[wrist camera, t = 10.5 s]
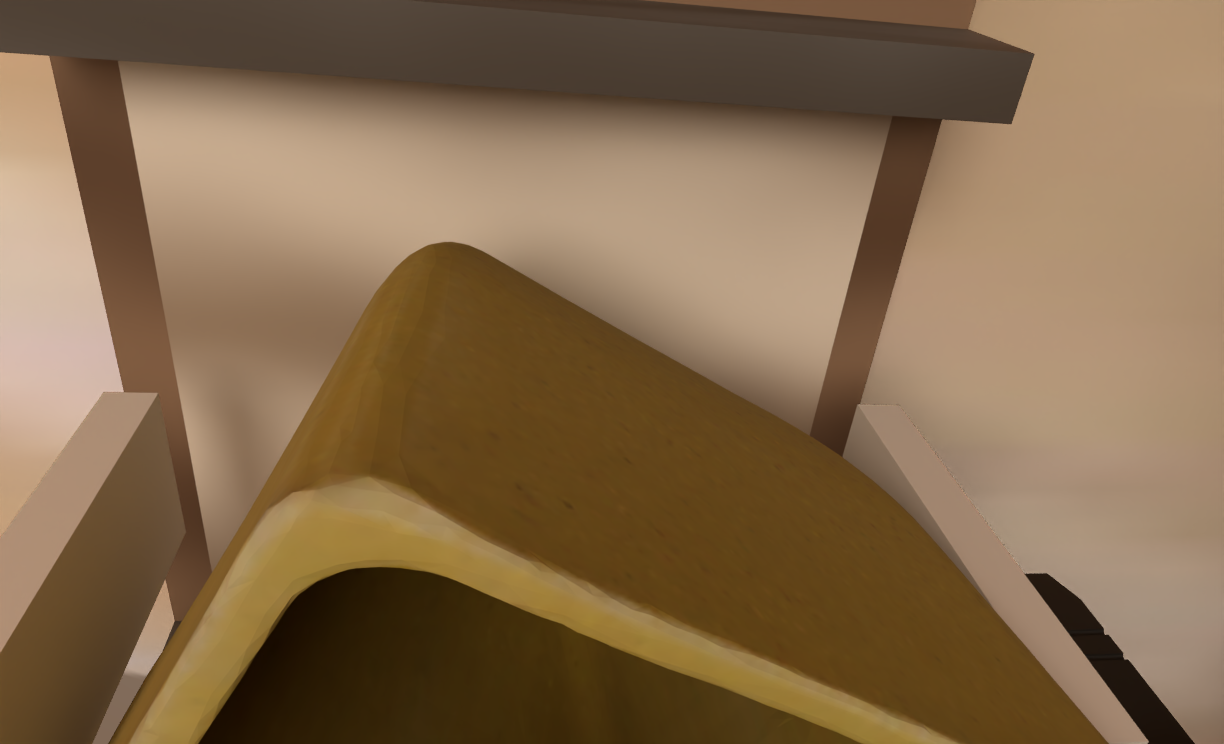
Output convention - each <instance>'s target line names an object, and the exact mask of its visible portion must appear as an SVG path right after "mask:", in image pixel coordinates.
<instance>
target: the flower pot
mask: <svg viewBox="0 0 1224 744" xmlns="http://www.w3.org/2000/svg"><path fill="white" fill-rule="evenodd" d="M108 744H1109V743H1108V742H1107V741H1106V740H1105V739H1104V737H1103V736H1102V735H1101V734H1100V733H1099V732H1098V730H1097V729H1096V728H1095V727H1094V726H1093V725H1092V723H1091V722H1090V721H1089V720H1088V719H1087V718H1086V716H1085V715H1084V714H1083V713H1082V712H1081V711H1080V709H1079V708H1078V707H1077V706H1076V705H1075V704H1074V702H1073V701H1072V700H1071V699H1070V698H1069V697H1068V695H1067V694H1066V693H1065V692H1064V691H1063V690H1062V688H1061V687H1060V686H1059V685H1058V684H1057V683H1056V681H1055V680H1054V679H1053V678H1052V677H1051V675H1050V674H1049V673H1048V672H1047V671H1046V670H1045V668H1044V667H1043V666H1042V665H1041V664H1040V662H1039V661H1038V660H1037V659H1036V658H1035V656H1034V655H1033V654H1032V653H1031V652H1030V650H1029V649H1028V648H1027V647H1026V646H1025V645H1024V643H1023V642H1022V641H1021V640H1020V639H1019V638H1018V637H1017V635H1016V634H1015V633H1014V632H1013V631H1012V630H1011V629H1010V627H1009V626H1008V625H1007V624H1006V623H1005V622H1004V620H1003V619H1002V618H1001V617H1000V616H999V615H998V614H997V612H996V611H995V610H994V609H993V608H992V607H991V606H990V604H989V603H988V602H987V601H986V600H985V599H984V597H983V596H982V595H981V594H980V593H979V592H978V591H977V589H976V588H975V587H974V586H973V585H972V584H971V582H970V581H969V580H968V579H967V578H966V577H965V575H964V574H963V573H962V572H961V571H960V570H959V569H958V567H957V566H956V565H955V564H954V563H953V562H952V560H951V559H950V558H949V557H948V556H947V555H946V554H945V552H944V551H943V550H942V549H941V548H940V547H939V545H938V544H937V543H936V542H935V541H934V540H933V539H932V538H931V537H930V535H929V534H928V533H927V532H926V531H925V530H924V529H923V528H922V527H921V525H920V524H919V523H918V522H917V521H916V520H915V519H914V518H913V517H912V516H911V515H910V514H909V513H908V512H907V511H906V510H905V509H904V508H903V507H902V506H901V505H900V504H899V503H898V502H897V501H896V500H895V499H894V498H893V497H891V496H890V495H889V494H888V493H887V492H886V491H884V490H883V489H882V488H881V487H880V486H879V485H877V484H876V483H875V482H874V481H873V480H872V479H870V478H869V477H868V476H866V475H865V474H864V473H863V472H861V471H860V470H859V469H857V468H856V467H855V466H853V465H852V464H851V463H849V462H848V461H847V460H845V459H844V458H843V457H841V456H840V455H839V454H837V453H836V452H834V451H833V450H831V449H830V448H828V447H826V446H825V445H823V444H822V443H820V442H819V441H817V440H816V439H814V438H813V437H811V436H809V435H808V434H806V433H804V432H803V431H801V430H799V429H798V428H796V427H794V426H793V425H791V424H789V423H787V422H786V421H784V420H782V419H780V418H779V417H777V416H775V415H774V414H772V413H770V412H768V411H766V410H764V409H762V408H760V407H759V406H757V405H755V404H753V403H751V402H749V401H747V400H746V399H744V398H742V397H740V396H738V395H736V394H734V393H733V392H731V391H729V390H727V389H725V388H724V387H722V386H720V385H718V384H717V383H715V382H713V381H711V380H709V379H708V378H706V377H704V376H702V375H700V374H699V373H697V372H695V371H693V370H692V369H690V368H688V367H686V366H684V365H683V364H681V363H679V362H677V361H675V360H674V359H672V358H670V357H668V356H666V355H665V354H663V353H661V352H659V351H657V350H656V349H654V348H652V347H650V346H648V345H646V344H645V343H643V342H641V341H639V340H637V339H636V338H634V337H632V336H630V335H629V334H627V333H625V332H623V331H622V330H620V329H618V328H616V327H615V326H613V325H611V324H609V323H607V322H606V321H604V320H602V319H600V318H599V317H597V316H595V315H593V314H592V313H590V312H588V311H586V310H584V309H583V308H581V307H579V306H577V305H576V304H574V303H572V302H570V301H569V300H567V299H565V298H563V297H562V296H560V295H558V294H556V293H555V292H553V291H551V290H549V289H548V288H546V287H544V286H543V285H541V284H539V283H537V282H536V281H534V280H532V279H530V278H529V277H527V276H525V275H524V274H522V273H520V272H518V271H517V270H515V269H513V268H511V267H510V266H508V265H506V264H505V263H503V262H501V261H499V260H498V259H496V258H494V257H492V256H491V255H489V254H487V253H485V252H483V251H481V250H479V249H477V248H474V247H472V246H470V245H467V244H462V243H457V242H441V243H435V244H430V245H427V246H425V247H423V248H421V249H419V250H418V251H416V252H414V253H412V254H411V255H409V256H408V257H407V258H406V259H405V260H403V261H402V262H401V263H400V264H399V265H398V266H397V267H396V268H395V269H394V270H393V271H392V273H391V274H390V275H389V276H388V277H387V279H386V280H385V281H384V282H383V284H382V285H381V286H380V287H379V288H378V290H377V291H376V293H375V294H374V296H373V297H372V299H371V301H370V302H369V304H368V305H367V307H366V309H365V310H364V312H363V314H362V315H361V317H360V319H359V321H358V323H357V324H356V326H355V328H354V330H353V331H352V333H351V335H350V337H349V339H348V340H347V342H346V344H345V346H344V347H343V349H342V351H341V353H340V355H339V356H338V358H337V360H336V362H335V363H334V365H333V367H332V369H331V370H330V372H329V374H328V376H327V377H326V379H325V381H324V383H323V384H322V386H321V388H320V390H319V391H318V393H317V395H316V397H315V398H314V400H313V402H312V404H311V405H310V407H309V409H308V411H307V412H306V414H305V416H304V418H303V419H302V421H301V423H300V425H299V426H298V428H297V430H296V431H295V433H294V435H293V437H292V438H291V440H290V442H289V444H288V445H287V447H286V449H285V450H284V452H283V454H282V456H281V457H280V459H279V461H278V462H277V464H276V466H275V468H274V469H273V471H272V473H271V475H270V476H269V478H268V480H267V481H266V483H265V485H264V487H263V488H262V490H261V492H260V493H259V495H258V497H257V499H256V500H255V502H254V504H253V505H252V507H251V509H250V511H249V512H248V514H247V516H246V518H245V519H244V521H243V522H242V524H241V526H240V527H239V529H238V531H237V532H236V534H235V536H234V537H233V539H232V541H231V542H230V544H229V546H228V547H227V549H226V551H225V552H224V554H223V555H222V557H221V559H220V560H219V562H218V564H217V565H216V567H215V569H214V570H213V572H212V573H211V575H210V577H209V578H208V580H207V582H206V583H205V585H204V586H203V588H202V590H201V591H200V593H199V594H198V596H197V598H196V599H195V601H194V603H193V604H192V606H191V607H190V609H189V611H188V612H187V614H186V615H185V617H184V619H183V620H182V622H181V623H180V625H179V627H178V628H177V630H176V631H175V633H174V635H173V636H172V638H171V639H170V641H169V642H168V644H167V646H166V647H165V649H164V650H163V652H162V653H161V655H160V656H159V658H158V659H157V661H156V663H155V664H154V666H153V667H152V669H151V670H150V672H149V673H148V675H147V677H146V678H145V680H144V682H143V684H142V685H141V687H140V689H139V691H138V692H137V694H136V696H135V698H134V700H133V701H132V703H131V705H130V706H129V708H128V710H127V712H126V713H125V715H124V717H123V719H122V720H121V722H120V724H119V726H118V727H117V729H116V731H115V733H114V735H113V736H112V738H111V740H110V742H109V743H108Z"/></svg>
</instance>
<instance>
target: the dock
mask: <svg viewBox="0 0 1224 744" xmlns="http://www.w3.org/2000/svg"><path fill="white" fill-rule="evenodd" d="M975 3H976V0H0V52H6V53H20V54H34V55H48V56H50V61H51V65H52V70H53V74H54V79H55V83H56V88H57V92H58V97H59V101H60V106H61V110H62V115H63V119H64V124H65V128H66V133H67V137H68V142H69V146H70V151H71V155H72V160H73V164H74V169H75V173H76V178H77V182H78V187H79V191H80V196H81V200H82V205H83V209H84V214H85V218H86V223H87V227H88V232H89V236H90V241H91V245H92V250H93V254H94V259H95V263H96V268H97V272H98V277H99V281H100V286H101V290H102V295H103V300H104V304H105V309H106V313H107V318H108V322H109V327H110V331H111V336H112V340H113V345H114V349H115V354H116V358H117V363H118V367H119V372H120V376H121V381H122V385H123V390H124V392H131V393H158V394H159V399H160V404H161V409H162V414H163V419H164V424H165V429H166V434H167V439H168V444H169V449H170V454H171V459H172V464H173V469H174V474H175V479H176V484H177V489H178V495H179V500H180V505H181V510H182V515H183V520H184V525H185V530H186V533H185V535H184V538H183V540H182V542H181V544H180V547H179V549H178V551H177V553H176V556H175V558H174V560H173V562H172V565H171V567H170V569H169V571H168V574H167V576H166V578H165V579H166V583H167V588H168V592H169V597H170V601H171V606H172V610H173V615H174V619H175V622H174V625H173V627H172V630H171V632H170V634H169V637H168V639H167V642H166V644H165V647H166V646H167V644H168V642H169V641H170V639H171V638H172V636H173V635H174V633H175V631H176V630H177V628H178V627H179V625H180V623H181V622H182V620H183V619H184V617H185V615H186V614H187V612H188V611H189V609H190V607H191V606H192V604H193V603H194V601H195V599H196V598H197V596H198V594H199V593H200V591H201V590H202V588H203V586H204V585H205V583H206V582H207V580H208V578H209V577H210V575H211V573H212V572H213V570H214V569H215V567H216V565H217V564H218V562H219V560H220V559H221V557H222V555H223V554H224V552H225V551H226V549H227V547H228V546H229V544H230V542H231V541H232V539H233V537H234V536H235V534H236V532H237V531H238V529H239V527H240V526H241V524H242V522H243V521H244V519H245V518H246V516H247V514H248V512H249V511H250V509H251V507H252V505H253V504H254V502H255V500H256V499H257V497H258V495H259V493H260V492H261V490H262V488H263V487H264V485H265V483H266V481H267V480H268V478H269V476H270V475H271V473H272V471H273V469H274V468H275V466H276V464H277V462H278V461H279V459H280V457H281V456H282V454H283V452H284V450H285V449H286V447H287V445H288V444H289V442H290V440H291V438H292V437H293V435H294V433H295V431H296V430H297V428H298V426H299V425H300V423H301V421H302V419H303V418H304V416H305V414H306V412H307V411H308V409H309V407H310V405H311V404H312V402H313V400H314V398H315V397H316V395H317V393H318V391H319V390H320V388H321V386H322V384H323V383H324V381H325V379H326V377H327V376H328V374H329V372H330V370H331V369H332V367H333V365H334V363H335V362H336V360H337V358H338V356H339V355H340V353H341V351H342V349H343V347H344V346H345V344H346V342H347V340H348V339H349V337H350V335H351V333H352V331H353V330H354V328H355V326H356V324H357V323H358V321H359V319H360V317H361V315H362V314H363V312H364V310H365V309H366V307H367V305H368V304H369V302H370V301H371V299H372V297H373V296H374V294H375V293H376V291H377V290H378V288H379V287H380V286H381V285H382V284H383V282H384V281H385V280H386V279H387V277H388V276H389V275H390V274H391V273H392V271H393V270H394V269H395V268H396V267H397V266H398V265H399V264H400V263H401V262H402V261H403V260H405V259H406V258H407V257H408V256H409V255H411V254H412V253H414V252H416V251H418V250H419V249H421V248H423V247H425V246H427V245H430V244H435V243H441V242H457V243H462V244H467V245H470V246H472V247H474V248H477V249H479V250H481V251H483V252H485V253H487V254H489V255H491V256H492V257H494V258H496V259H498V260H499V261H501V262H503V263H505V264H506V265H508V266H510V267H511V268H513V269H515V270H517V271H518V272H520V273H522V274H524V275H525V276H527V277H529V278H530V279H532V280H534V281H536V282H537V283H539V284H541V285H543V286H544V287H546V288H548V289H549V290H551V291H553V292H555V293H556V294H558V295H560V296H562V297H563V298H565V299H567V300H569V301H570V302H572V303H574V304H576V305H577V306H579V307H581V308H583V309H584V310H586V311H588V312H590V313H592V314H593V315H595V316H597V317H599V318H600V319H602V320H604V321H606V322H607V323H609V324H611V325H613V326H615V327H616V328H618V329H620V330H622V331H623V332H625V333H627V334H629V335H630V336H632V337H634V338H636V339H637V340H639V341H641V342H643V343H645V344H646V345H648V346H650V347H652V348H654V349H656V350H657V351H659V352H661V353H663V354H665V355H666V356H668V357H670V358H672V359H674V360H675V361H677V362H679V363H681V364H683V365H684V366H686V367H688V368H690V369H692V370H693V371H695V372H697V373H699V374H700V375H702V376H704V377H706V378H708V379H709V380H711V381H713V382H715V383H717V384H718V385H720V386H722V387H724V388H725V389H727V390H729V391H731V392H733V393H734V394H736V395H738V396H740V397H742V398H744V399H746V400H747V401H749V402H751V403H753V404H755V405H757V406H759V407H760V408H762V409H764V410H766V411H768V412H770V413H772V414H774V415H775V416H777V417H779V418H780V419H782V420H784V421H786V422H787V423H789V424H791V425H793V426H794V427H796V428H798V429H799V430H801V431H803V432H804V433H806V434H808V435H809V436H811V437H813V438H814V439H816V440H817V441H819V442H820V443H822V444H823V445H825V446H826V447H828V448H830V449H831V450H833V451H834V452H836V453H837V454H839V455H840V456H841V457H843V453H844V450H845V446H846V443H847V439H848V436H849V432H850V429H851V425H852V422H853V418H854V415H855V411H856V408H857V404H860V401H861V398H862V394H863V391H864V388H865V384H866V381H867V377H868V374H869V370H870V367H871V363H872V360H873V356H874V353H875V349H876V346H877V343H878V339H879V336H880V332H881V329H882V325H883V322H884V318H885V315H886V311H887V308H888V304H889V301H890V297H891V294H892V291H893V287H894V284H895V280H896V277H897V273H898V270H899V266H900V263H901V259H902V256H903V252H904V249H905V246H906V242H907V239H908V235H909V232H910V228H911V225H912V221H913V218H914V214H915V211H916V207H917V204H918V201H919V197H920V194H921V190H922V187H923V183H924V180H925V176H926V173H927V169H928V166H929V162H930V159H931V156H932V152H933V149H934V145H935V142H936V138H937V135H938V131H939V128H940V124H941V121H942V119H945V120H959V121H974V122H988V123H1002V124H1012V121H1013V117H1014V114H1015V111H1016V108H1017V105H1018V102H1019V99H1020V96H1021V93H1022V90H1023V87H1024V84H1025V81H1026V78H1027V75H1028V72H1029V69H1030V66H1031V63H1032V60H1033V57H1034V54H1033V53H1031V52H1028V51H1025V50H1023V49H1020V48H1017V47H1014V46H1012V45H1009V44H1006V43H1004V42H1001V41H998V40H995V39H993V38H990V37H987V36H985V35H982V34H979V33H977V32H974V31H971V30H968V27H969V24H970V20H971V17H972V14H973V10H974V7H975ZM165 647H164V649H165ZM164 649H163V650H164Z"/></svg>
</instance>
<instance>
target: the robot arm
mask: <svg viewBox="0 0 1224 744" xmlns="http://www.w3.org/2000/svg"><path fill="white" fill-rule="evenodd" d="M843 458H844V459H845V460H847V461H848V462H849V463H851V464H852V465H853V466H855V467H856V468H857V469H859V470H860V471H861V472H863V473H864V474H865V475H866V476H868V477H869V478H870V479H872V480H873V481H874V482H875V483H876V484H877V485H879V486H880V487H881V488H882V489H883V490H884V491H886V492H887V493H888V494H889V495H890V496H891V497H893V498H894V499H895V500H896V501H897V502H898V503H899V504H900V505H901V506H902V507H903V508H904V509H905V510H906V511H907V512H908V513H909V514H910V515H911V516H912V517H913V518H914V519H915V520H916V521H917V522H918V523H919V524H920V525H921V527H922V528H923V529H924V530H925V531H926V532H927V533H928V534H929V535H930V537H931V538H932V539H933V540H934V541H935V542H936V543H937V544H938V545H939V547H940V548H941V549H942V550H943V551H944V552H945V554H946V555H947V556H948V557H949V558H950V559H951V560H952V562H953V563H954V564H955V565H956V566H957V567H958V569H959V570H960V571H961V572H962V573H963V574H964V575H965V577H966V578H967V579H968V580H969V581H970V582H971V584H972V585H973V586H974V587H975V588H976V589H977V591H978V592H979V593H980V594H981V595H982V596H983V597H984V599H985V600H986V601H987V602H988V603H989V604H990V606H991V607H992V608H993V609H994V610H995V611H996V612H997V614H998V615H999V616H1000V617H1001V618H1002V619H1003V620H1004V622H1005V623H1006V624H1007V625H1008V626H1009V627H1010V629H1011V630H1012V631H1013V632H1014V633H1015V634H1016V635H1017V637H1018V638H1019V639H1020V640H1021V641H1022V642H1023V643H1024V645H1025V646H1026V647H1027V648H1028V649H1029V650H1030V652H1031V653H1032V654H1033V655H1034V656H1035V658H1036V659H1037V660H1038V661H1039V662H1040V664H1041V665H1042V666H1043V667H1044V668H1045V670H1046V671H1047V672H1048V673H1049V674H1050V675H1051V677H1052V678H1053V679H1054V680H1055V681H1056V683H1057V684H1058V685H1059V686H1060V687H1061V688H1062V690H1063V691H1064V692H1065V693H1066V694H1067V695H1068V697H1069V698H1070V699H1071V700H1072V701H1073V702H1074V704H1075V705H1076V706H1077V707H1078V708H1079V709H1080V711H1081V712H1082V713H1083V714H1084V715H1085V716H1086V718H1087V719H1088V720H1089V721H1090V722H1091V723H1092V725H1093V726H1094V727H1095V728H1096V729H1097V730H1098V732H1099V733H1100V734H1101V735H1102V736H1103V737H1104V739H1105V740H1106V741H1107V742H1108V743H1109V744H1195V743H1194V742H1193V741H1192V740H1191V738H1190V737H1189V736H1188V735H1187V733H1186V732H1185V731H1184V730H1183V728H1182V727H1181V726H1180V724H1179V723H1178V722H1177V721H1176V719H1175V718H1174V717H1173V716H1172V714H1171V713H1170V712H1169V711H1168V709H1167V708H1166V707H1165V705H1164V704H1163V703H1162V702H1161V700H1160V699H1159V698H1158V697H1157V695H1156V694H1155V693H1154V692H1153V690H1152V689H1151V688H1150V687H1149V685H1148V684H1147V683H1146V681H1145V680H1144V679H1143V678H1142V676H1141V675H1140V674H1139V673H1138V671H1137V670H1136V669H1135V668H1134V666H1133V665H1132V664H1131V663H1130V661H1129V660H1125V659H1124V658H1123V652H1122V651H1121V650H1120V649H1119V647H1118V646H1117V645H1116V644H1115V642H1114V641H1113V640H1112V639H1111V637H1110V636H1109V635H1105V634H1104V628H1103V627H1102V626H1101V625H1100V623H1099V622H1098V621H1097V620H1096V618H1095V617H1094V616H1093V614H1092V613H1091V612H1090V611H1089V609H1088V608H1087V607H1086V606H1085V604H1084V603H1083V602H1082V601H1081V599H1079V598H1078V597H1077V596H1076V595H1074V594H1073V593H1072V592H1070V591H1069V590H1068V589H1067V588H1065V587H1064V586H1063V585H1061V584H1060V583H1059V582H1057V581H1056V580H1055V579H1054V578H1052V577H1051V576H1050V575H1048V574H1024V573H1023V571H1022V570H1021V569H1020V567H1019V566H1018V565H1017V563H1016V562H1015V561H1014V559H1013V558H1012V557H1011V555H1010V554H1009V553H1008V551H1007V550H1006V548H1005V547H1004V546H1003V544H1002V543H1001V542H1000V540H999V539H998V538H997V536H996V535H995V534H994V532H993V531H992V530H991V528H990V527H989V526H988V524H987V523H986V521H985V520H984V519H983V517H982V516H981V515H980V513H979V512H978V511H977V509H976V508H975V507H974V505H973V504H972V503H971V501H970V500H969V499H968V497H967V496H966V495H965V493H964V492H963V490H962V489H961V488H960V486H959V485H958V484H957V482H956V481H955V480H954V478H953V477H952V476H951V474H950V473H949V472H948V470H947V469H946V468H945V466H944V465H943V463H942V462H941V461H940V459H939V458H938V457H937V455H936V454H935V453H934V451H933V450H932V449H931V447H930V446H929V445H928V443H927V442H926V441H925V439H924V438H923V437H922V435H921V434H920V432H919V431H918V430H917V428H916V427H915V426H914V424H913V423H912V422H911V420H910V419H909V418H908V416H907V415H906V414H905V412H904V411H903V410H902V408H901V407H900V405H862V404H857V408H856V411H855V415H854V418H853V422H852V425H851V429H850V432H849V436H848V439H847V443H846V446H845V450H844V453H843ZM185 533H186V530H185V525H184V520H183V515H182V510H181V505H180V500H179V495H178V489H177V484H176V479H175V474H174V469H173V464H172V459H171V454H170V449H169V444H168V439H167V434H166V429H165V424H164V419H163V414H162V409H161V404H160V399H159V394H158V393H131V392H103V394H102V395H101V397H100V398H99V400H98V401H97V402H96V404H95V405H94V407H93V408H92V409H91V411H90V412H89V414H88V415H87V416H86V418H85V419H84V421H83V422H82V423H81V425H80V426H79V428H78V429H77V431H76V432H75V433H74V435H73V436H72V438H71V439H70V440H69V442H68V443H67V445H66V446H65V447H64V449H63V450H62V452H61V453H60V454H59V456H58V457H57V459H56V460H55V461H54V463H53V464H52V466H51V467H50V469H49V470H48V471H47V473H46V474H45V476H44V477H43V478H42V480H41V481H40V483H39V484H38V485H37V487H36V488H35V490H34V491H33V492H32V494H31V495H30V497H29V498H28V500H27V501H26V502H25V504H24V505H23V507H22V508H21V509H20V511H19V512H18V514H17V515H16V516H15V518H14V519H13V521H12V522H11V523H10V525H9V526H8V528H7V529H6V530H5V532H4V533H3V535H2V536H1V538H0V744H92V743H93V740H94V738H95V736H96V734H97V731H98V729H99V727H100V725H101V723H102V720H103V718H104V716H105V713H106V711H107V709H108V707H109V704H110V702H111V700H112V698H113V695H114V693H115V691H116V688H117V686H118V684H119V682H120V680H121V677H122V675H123V673H124V671H125V668H126V666H127V664H128V662H129V659H130V657H131V655H132V653H133V650H134V648H135V646H136V644H137V641H138V639H139V637H140V635H141V632H142V630H143V628H144V626H145V623H146V621H147V619H148V617H149V614H150V612H151V610H152V607H153V605H154V603H155V601H156V598H157V596H158V594H159V592H160V589H161V587H162V585H163V583H164V580H165V578H166V576H167V574H168V571H169V569H170V567H171V565H172V562H173V560H174V558H175V556H176V553H177V551H178V549H179V547H180V544H181V542H182V540H183V538H184V535H185Z"/></svg>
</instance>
